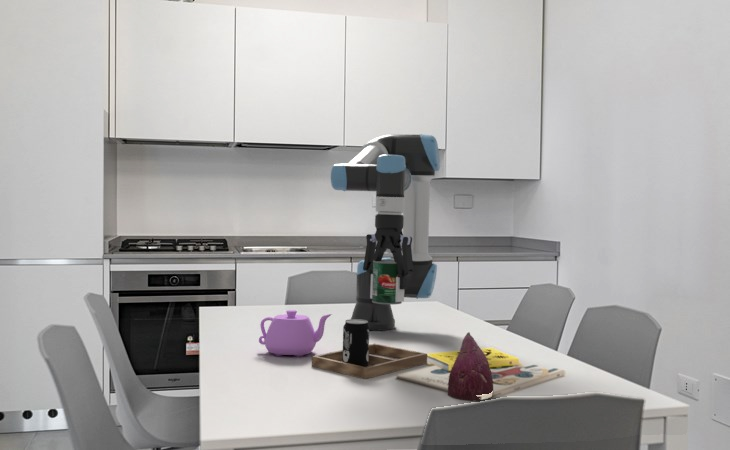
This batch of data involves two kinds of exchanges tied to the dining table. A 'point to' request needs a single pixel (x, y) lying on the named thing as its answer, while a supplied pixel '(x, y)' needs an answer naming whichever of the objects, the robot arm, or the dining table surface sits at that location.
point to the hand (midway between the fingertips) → (386, 299)
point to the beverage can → (356, 342)
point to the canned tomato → (384, 282)
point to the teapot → (291, 334)
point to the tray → (371, 361)
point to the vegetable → (470, 372)
